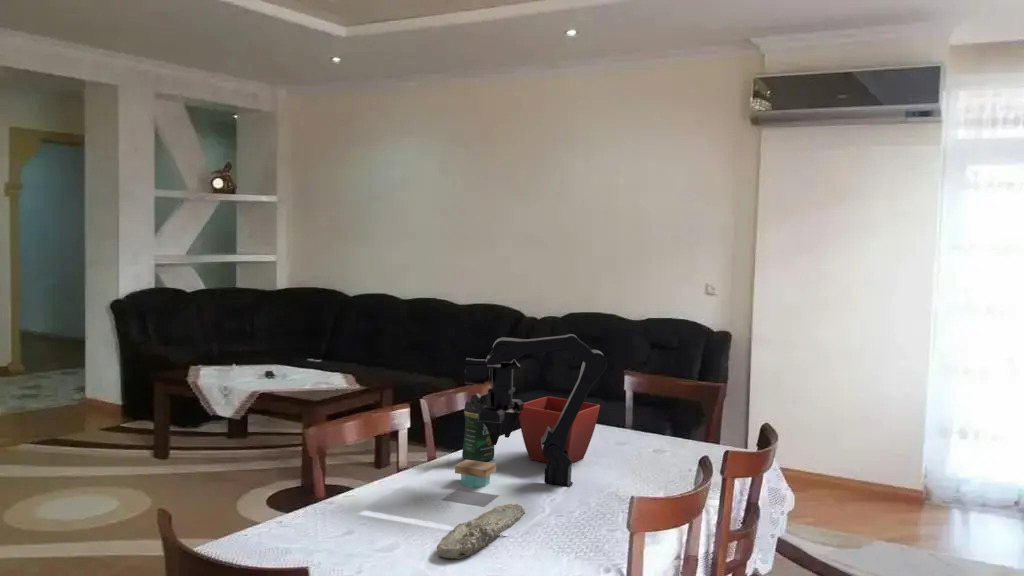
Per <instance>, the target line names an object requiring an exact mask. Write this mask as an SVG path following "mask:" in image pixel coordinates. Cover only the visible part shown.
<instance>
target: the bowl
mask: <svg viewBox="0 0 1024 576" xmlns="http://www.w3.org/2000/svg"><path fill="white" fill-rule="evenodd" d="M490 479H491V474H490V475H489V476H487V477H486V478H485V477H478V476H472V475H465V474H460V483H461V484H462V485H463V486H464V487H470V488H482V487H487V486H488V485H490V484H491V482H490V481H491V480H490Z"/></svg>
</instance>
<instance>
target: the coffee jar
mask: <svg viewBox="0 0 1024 576" xmlns="http://www.w3.org/2000/svg"><path fill="white" fill-rule="evenodd" d="M484 408H487V405H486V406H483V407H479V408H478V409H474V408H473V406H472V405H470V399H469V400H466V401H465V402H464V410H463V414H464V419H465V421H464V422H465V425H464V436H463V443H462V444H463V445H462V451H461V452H462V454H461V456H462V459H463V460H466V459H467V460H474V461H481V462H487V461H491V460H494V458H495V445H492V443H491V439H490V435H489V432H488V429H487V426H486V425H485V424H484V423H481V421H480V420H478V413H479V412H480V411H481V410H482V409H484Z"/></svg>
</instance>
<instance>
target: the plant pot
mask: <svg viewBox="0 0 1024 576" xmlns="http://www.w3.org/2000/svg"><path fill="white" fill-rule="evenodd" d="M568 399H569V398H568ZM568 399H567V398H566V399H565V398H560V397H554V396H545V397H540V398H537V399H533V400H530V401H527V402H523V403H524V405H523V410H522V411H521V414H520V416H519V418H518V419H519V425H520V430H521V434H522V439H523V443H524V446H525V449H526V452H527V455H528V459H530V460H534V461H539V462H543V463H546V464H547V463H548V462H549V460H548V459H546V458H545V457H544V455H543V452H542V446H541V445H542V442H541V437H543V435H544V434H545V431H546V428H547V426H549V427H550V428H551V429H552V427H553V426H554V425H555V424H556V423H557V421H558V419H559V417H560V415H561V413H562V411H563V409H564V407H565V405H566V403H567V401H568ZM600 408H601V405H600V404H599V403H598V404H596V403H592V402H585V401H584V402H583V404H582V406H581V408H580V410H579V412H578V414H577V416H576V418H575V420H574V422H573V424H572V426H571V428H570V430H569V433H568V438H567V442H566V446H565V449H566V450H567V451H568V452H569V456H570V459H571V464H573V463H576V462H578V461H580V460H582V459H584V458H585V455H586V453H587V451H588V449H589V446H590V443H591V441H592V438H593V434H594V431H595V428H596V425H597V422H598V421H597V420H598V418H599V414H600V413H599V411H600Z"/></svg>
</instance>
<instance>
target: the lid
mask: <svg viewBox="0 0 1024 576" xmlns="http://www.w3.org/2000/svg"><path fill="white" fill-rule="evenodd" d="M496 471H497V463H493V462H487V461H484V462H481V461H474V460H467V459H466V460H465V459H463V461H461V462H459V463H457V464H455V465H454V473H455V474H459V475H461V474H465V475H472V476H478V477H485V478H486V477H487V476H489V475H490V476H491V475H492V474H494V473H495V472H496Z"/></svg>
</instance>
